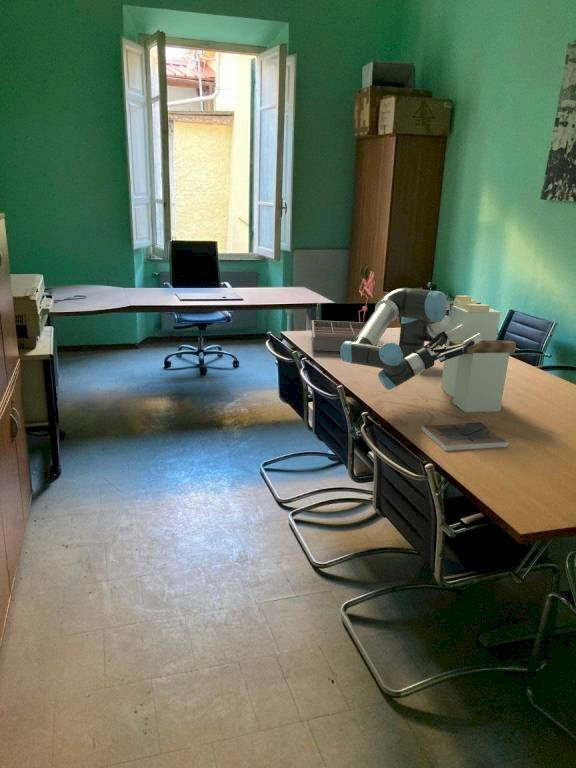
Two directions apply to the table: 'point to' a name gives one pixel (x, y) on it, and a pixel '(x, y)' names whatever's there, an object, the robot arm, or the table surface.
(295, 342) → the table surface
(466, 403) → the pale grey rectangular block
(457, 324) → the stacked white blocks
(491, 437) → the picture frame
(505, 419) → the table surface
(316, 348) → the organizer tray
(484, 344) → the walnut batten
